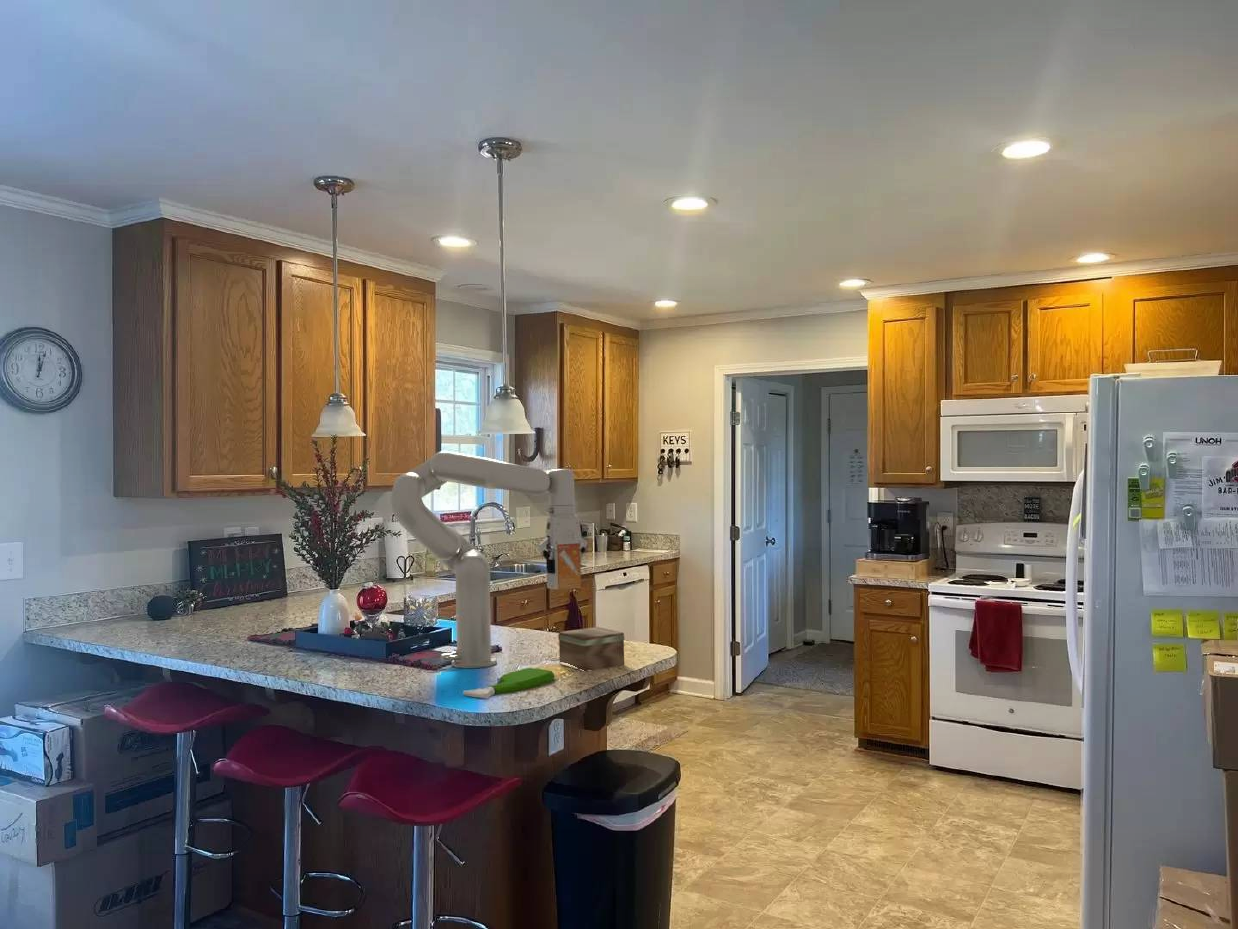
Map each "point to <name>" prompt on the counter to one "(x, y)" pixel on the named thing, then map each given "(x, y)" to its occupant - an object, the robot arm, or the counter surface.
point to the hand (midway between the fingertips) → (563, 571)
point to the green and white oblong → (515, 682)
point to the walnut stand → (592, 648)
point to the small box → (565, 567)
